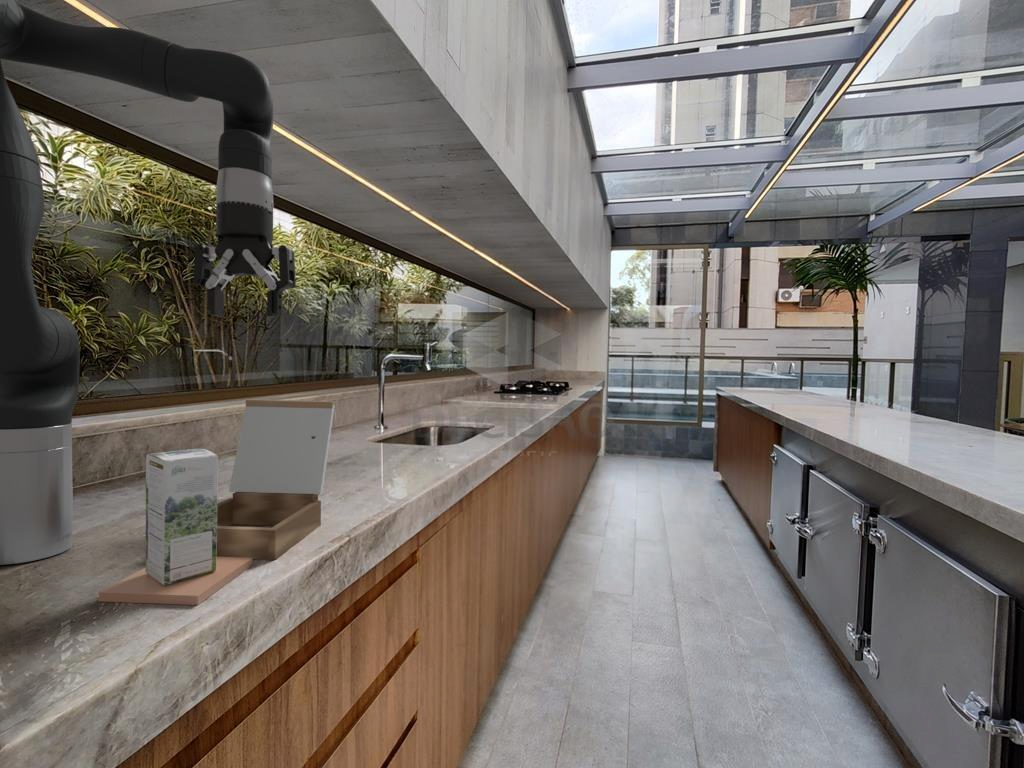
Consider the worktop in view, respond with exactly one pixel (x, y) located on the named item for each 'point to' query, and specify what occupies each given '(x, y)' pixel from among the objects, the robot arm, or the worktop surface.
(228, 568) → the tile
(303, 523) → the wooden box
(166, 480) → the syrup box
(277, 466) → the lid
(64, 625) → the worktop surface
